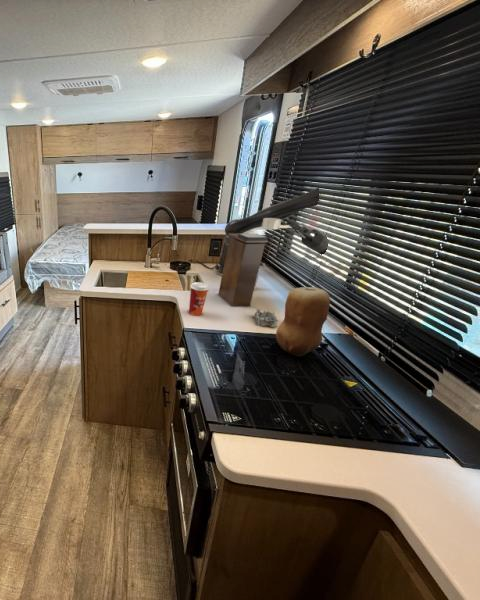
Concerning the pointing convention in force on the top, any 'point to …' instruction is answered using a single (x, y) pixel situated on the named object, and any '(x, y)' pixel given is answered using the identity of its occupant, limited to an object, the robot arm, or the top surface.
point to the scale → (252, 237)
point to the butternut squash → (303, 320)
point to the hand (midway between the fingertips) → (289, 223)
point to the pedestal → (240, 270)
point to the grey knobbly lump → (265, 318)
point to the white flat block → (273, 223)
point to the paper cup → (197, 298)
